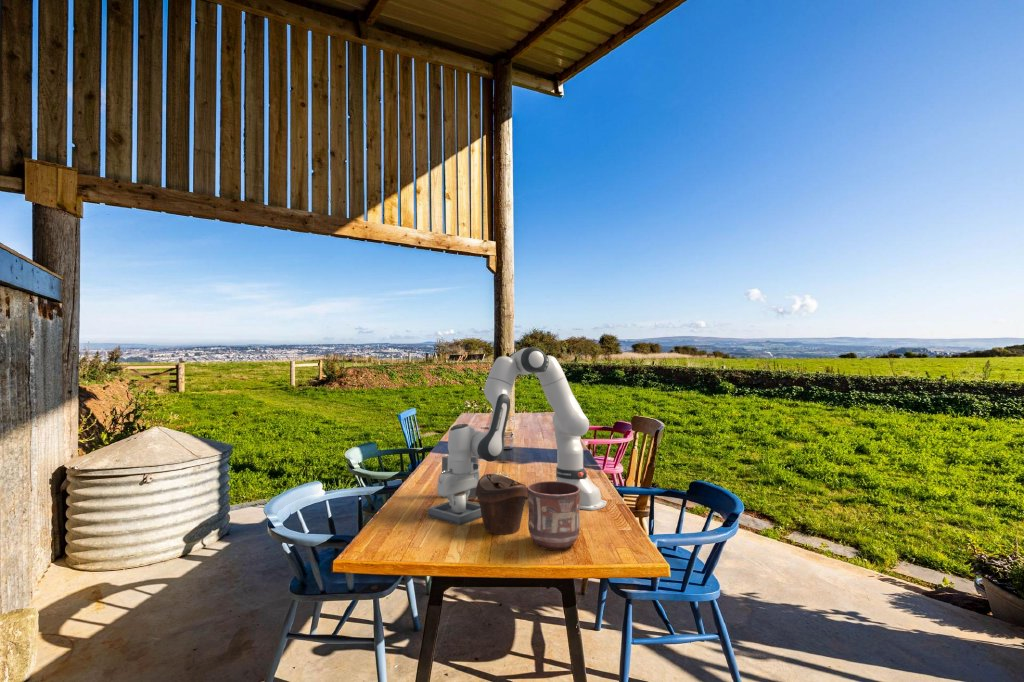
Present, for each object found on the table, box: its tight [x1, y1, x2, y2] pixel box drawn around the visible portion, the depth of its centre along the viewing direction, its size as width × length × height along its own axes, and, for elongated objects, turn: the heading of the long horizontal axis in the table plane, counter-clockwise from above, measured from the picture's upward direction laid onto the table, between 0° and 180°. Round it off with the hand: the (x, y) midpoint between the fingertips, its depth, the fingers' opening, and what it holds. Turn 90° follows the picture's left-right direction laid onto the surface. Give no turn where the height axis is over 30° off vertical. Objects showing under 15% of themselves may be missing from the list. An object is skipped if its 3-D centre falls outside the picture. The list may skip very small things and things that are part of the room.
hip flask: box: [440, 455, 479, 499], centre depth 210 cm, size 16×4×20 cm, turn 96°
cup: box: [451, 493, 467, 513], centre depth 183 cm, size 6×6×6 cm
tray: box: [427, 501, 482, 526], centre depth 182 cm, size 17×16×3 cm
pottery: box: [526, 480, 581, 551], centre depth 154 cm, size 18×18×18 cm
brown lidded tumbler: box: [475, 473, 528, 535], centre depth 168 cm, size 18×20×18 cm
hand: (458, 503), depth 183 cm, fingers closed on cup, 6 cm apart
